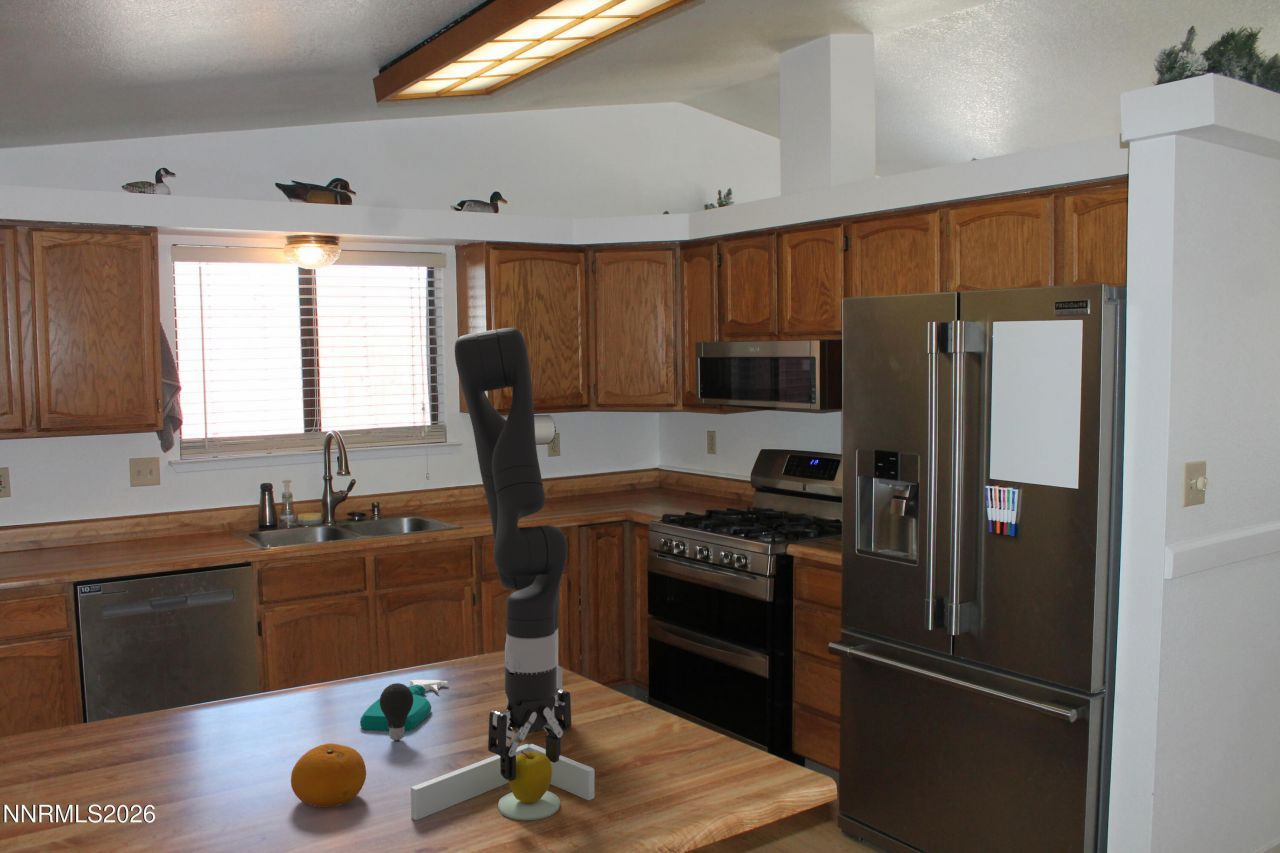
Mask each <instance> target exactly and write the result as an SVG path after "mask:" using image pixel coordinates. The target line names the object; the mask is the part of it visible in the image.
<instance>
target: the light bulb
mask: <svg viewBox="0 0 1280 853" xmlns="http://www.w3.org/2000/svg"><path fill="white" fill-rule="evenodd" d="M408 687H409V686H407V685H405V684H403V683H399V682H397V683H396V682H394V683H392V684H389V685H388V686H386V687H385V688H384V689H383V690H382V692H381V694H380V696H379V699H380V707H381V710H382V712H383V714H384V715H385V717H386V719H387V721H388V726H389V731H388V732H389V738H390V740H392V741H394V743H398V742H399V743H400V741H401V740H402V739H403V738H405V732H404V726H405V723H406V718H407V716H408V714H409V712H410V710H411V708H412V705H413V694H412V692H411V690H410V689H409V688H408Z"/></svg>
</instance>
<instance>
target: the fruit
mask: <svg viewBox="0 0 1280 853" xmlns="http://www.w3.org/2000/svg"><path fill="white" fill-rule="evenodd" d="M366 777H367V769H366V764H365V761H364V758H363V756H362V755H361V753H359V752H358V751H357V750H356V749H354V748H353V747H350V746H347V745H344V744H343V745H342V744H338V743H324V744H320V745H318V746H316V747H314V748H311V749H309V750H308V751H307V752H305V753H304V754H303V755H302V756H301V757H300V758H299V759H297V762H295V764H294V766H293V768H292V771H291V776H290V786H291V789H292V791H293V793H294V795H295V797H296V798H297V799H299V800H300V801H301V802H302V803H305V804H307V805H309V806H313V807H317V808H318V807H319V808H326V807H327V808H328V807H329V808H330V807H336V806H341V805H344V804H347V803H349V802H351V801H352V800H354V799H355V798H356V797H357V796H358V795H359V793H360V792H361V790H362V789H363V786H364V785H365V782H366Z"/></svg>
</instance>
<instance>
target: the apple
mask: <svg viewBox="0 0 1280 853" xmlns="http://www.w3.org/2000/svg"><path fill="white" fill-rule="evenodd" d="M521 753H522V754H519V755H517V756H516V779H515V780H513V781H509V780H508V782H509V783H508V784H509V788H510V790H511V791H512V792H513V795H514V797H515V798H516V799H517V800H519V801H521V802H523V803H535V802H537V801H538V800H539V799H541V798H542V796H543V795H544V794H545V792H546V791H548V789H549V788H550V785H551V784H550V782H551V776H552V766H551V762H550V760H549V759H548V757H547V756H545V755H544V754H542V753H539V752H526V753H524V752H522V751H521Z"/></svg>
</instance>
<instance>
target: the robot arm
mask: <svg viewBox="0 0 1280 853" xmlns="http://www.w3.org/2000/svg"><path fill="white" fill-rule="evenodd" d="M527 348H528V347H527V345H526V342H525V338H524V336H523V334H522V332H521V331H520V329H518V328H516V327H503V328H498V329H491V330H485V331H484V330H483V331H479V332H474V333H467V334H464V335H460V336H459V337H458V338H457V340H456V341H455V344H454V357H455V365H456V369H457V374H458V378H459V381H460V385H461V388H462V392H463V395H464V400H465V403H466V408H467V410H468V414H469V418H470V422H471V425H472V430H473V435H474V441H475V449H476V454H477V460H478V467H479V472H480V477H481V482H482V485H483V490H484V494H485V497H486V501H487V505H488V510H489V515H490V521H491V526H492V527H491V528H492V535H493V542H494V543H493V544H494V546H493V561H494V564H495V567H496V569H497V575H498V579H499V581H500V583H501V585H502V586H503V588H505V589H507V590H510V591H511V590H512V591H514V592H512V593H510V595H509V596H508V597H507V600H506V638H505V645H504V690H505V692H504V693H505V695H506V709H505V710H501V711H497V710H495V709H494V710H491V711H490V713H489V716H488V718H489V720H488V738H487V739H488V742H487V745H488V746H487V750H488V752H489V753H492V754H495V755H499V756H500V768H501V769H500V773H501V775H502V776H503V778H505V779H507V780H509V781H513V780H515V779H516V755H514V754H515V752H516V750H517V748H518V747H520V744H521V743H523V742H524V741H525V739H526V737H527V735H529V734H532V733H534V732H535V731H536V730H537V731H540V730H544V731H545V733H546V735H545V749H546V756H547V757H548V759H549V760H550V761H551V762H553V763H555V762H557V761H559V757H560V755H561V753H562V752H561V751H562V747H561V744H562V743H561V741H562V739H561V738H562V736H563V735H564V732H565V731H570V730H571V728H572V724H573V723H572V706H571V705H572V704H571V693H570V692H569V691H566V690H564V689H563V668H562V666H559V615H560V589H561V588H560V587H561V581H562V577H563V574H564V571H565V569H566V568H565V567H566V564H567V559H568V552H569V551H568V549H569V548H568V542H567V539H566V536H565V535H564V533H563V531H562V530H561V529H560V528H558V526H554V525H548V524H547V525H539V526H537V525H536V526H527V527H526V526H525V527H523V526H522V527H519V525H518V523H519V520H520V519H521V518H522V519H523V518H525V517H528V516H531V515H533V514H536V513H538V512H540V511H542V509H543V508H544V507H545V503H546V495H545V489H544V484H543V480H542V479H543V478H542V474H541V469H540V468H541V467H540V463H539V458H538V450H537V443H536V426H535V425H536V424H535V409H534V396H533V385H532V384H533V383H532V375H531V374H532V373H531V367H530V361H529V354H528V349H527ZM506 388H512V400H511V406H510V408H509V412H508V415H507V418H506V419H505V418H504V417H503V416H502V415H501V414H500V413H499V412H498V411H497V409H496V408H495V407H494V406H493V404H492V403H491V401H490V400H489V398H488V396H487V395H486V392H489V391H496V390H501V389H506ZM514 729H515V730H516V731H517V733H515V732H514Z"/></svg>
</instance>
